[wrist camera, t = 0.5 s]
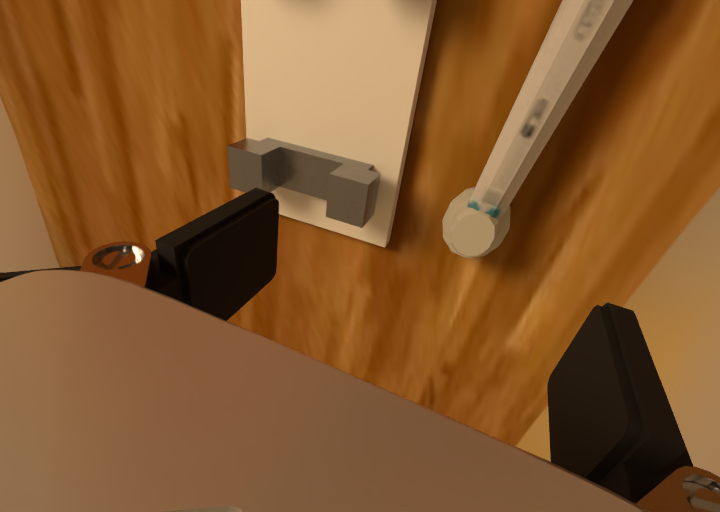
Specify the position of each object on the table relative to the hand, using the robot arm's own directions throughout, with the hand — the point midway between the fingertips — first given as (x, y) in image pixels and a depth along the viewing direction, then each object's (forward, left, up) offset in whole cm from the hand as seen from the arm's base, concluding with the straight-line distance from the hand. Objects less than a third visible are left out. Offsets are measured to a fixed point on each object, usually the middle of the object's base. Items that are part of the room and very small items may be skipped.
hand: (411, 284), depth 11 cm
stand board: (-2, -14, -24) cm, 28 cm away
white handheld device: (-2, +3, -25) cm, 25 cm away
